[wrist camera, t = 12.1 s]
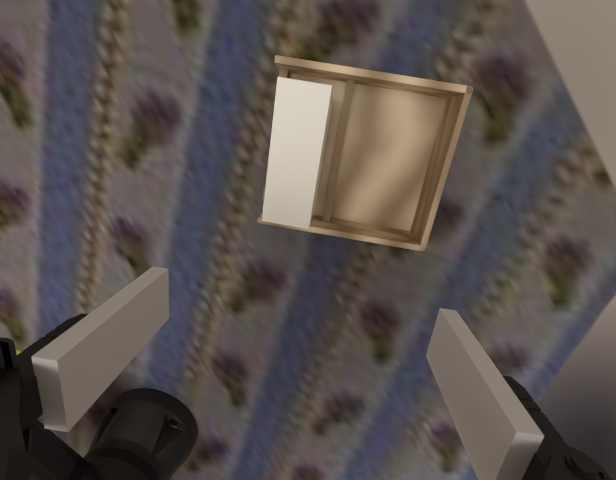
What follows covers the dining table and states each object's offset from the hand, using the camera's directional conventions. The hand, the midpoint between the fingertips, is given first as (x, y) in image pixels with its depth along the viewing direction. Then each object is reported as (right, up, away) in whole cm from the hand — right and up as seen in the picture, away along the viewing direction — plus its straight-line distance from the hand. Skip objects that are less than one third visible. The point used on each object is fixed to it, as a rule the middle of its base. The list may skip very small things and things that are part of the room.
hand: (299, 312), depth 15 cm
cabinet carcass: (+6, +13, +22) cm, 26 cm away
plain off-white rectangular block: (0, +14, +21) cm, 25 cm away
